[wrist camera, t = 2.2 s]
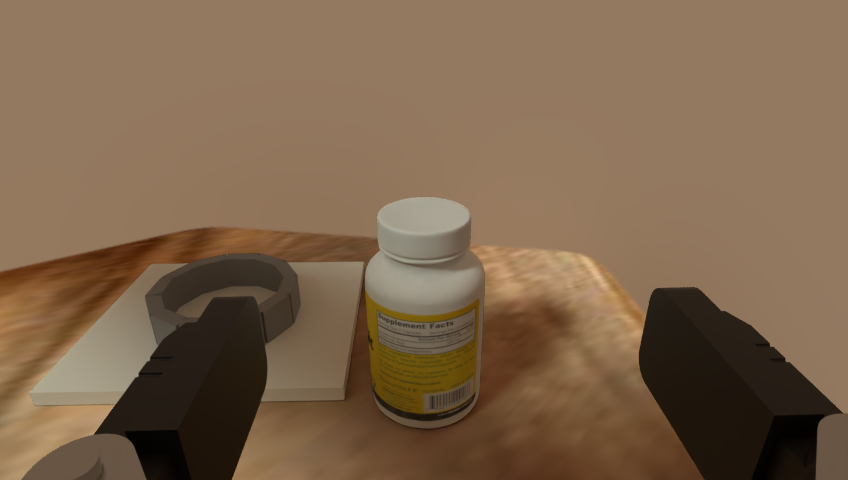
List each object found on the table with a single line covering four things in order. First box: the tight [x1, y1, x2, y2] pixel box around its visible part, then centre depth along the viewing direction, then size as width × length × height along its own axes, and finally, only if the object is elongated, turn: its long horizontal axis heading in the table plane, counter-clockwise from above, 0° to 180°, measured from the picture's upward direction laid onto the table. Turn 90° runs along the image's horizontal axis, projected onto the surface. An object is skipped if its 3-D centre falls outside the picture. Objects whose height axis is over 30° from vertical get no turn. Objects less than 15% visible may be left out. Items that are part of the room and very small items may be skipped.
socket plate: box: [29, 253, 364, 406], centre depth 30 cm, size 15×13×3 cm
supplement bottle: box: [365, 197, 485, 429], centre depth 24 cm, size 5×5×10 cm
